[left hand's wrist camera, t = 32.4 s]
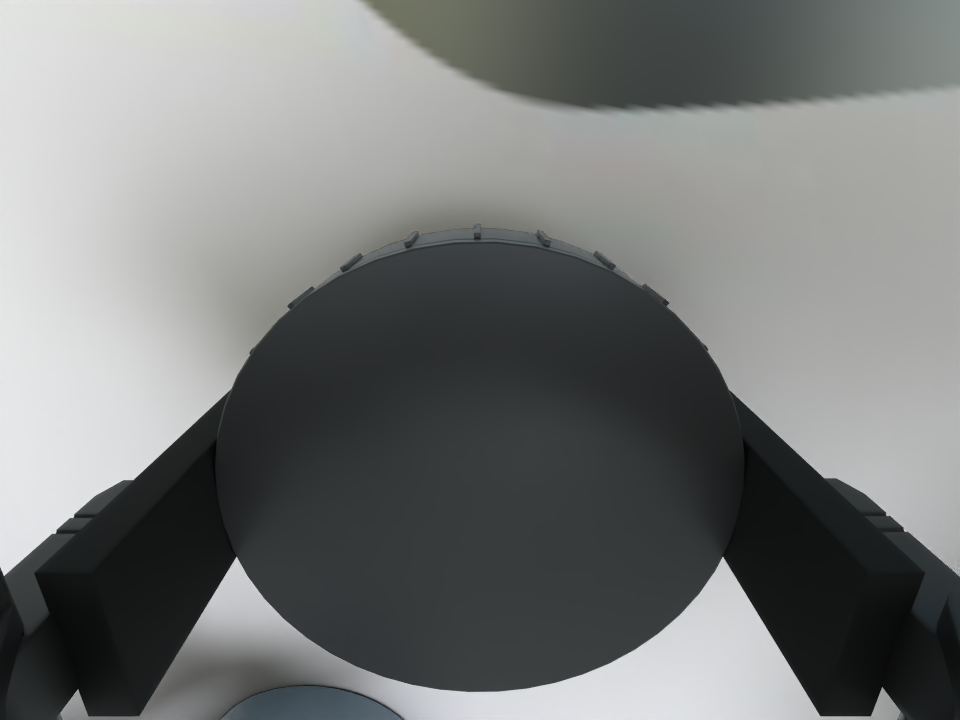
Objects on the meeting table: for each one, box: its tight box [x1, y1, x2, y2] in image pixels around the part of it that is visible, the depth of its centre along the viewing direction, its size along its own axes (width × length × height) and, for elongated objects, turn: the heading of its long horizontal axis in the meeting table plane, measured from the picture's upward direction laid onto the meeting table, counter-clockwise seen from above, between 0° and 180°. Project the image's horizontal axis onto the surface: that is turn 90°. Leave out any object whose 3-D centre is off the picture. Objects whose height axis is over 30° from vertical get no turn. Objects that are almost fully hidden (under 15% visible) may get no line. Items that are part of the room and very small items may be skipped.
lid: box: [215, 224, 745, 692], centre depth 11 cm, size 10×10×2 cm
